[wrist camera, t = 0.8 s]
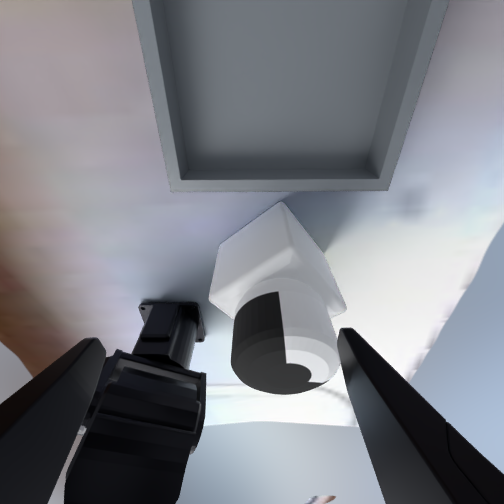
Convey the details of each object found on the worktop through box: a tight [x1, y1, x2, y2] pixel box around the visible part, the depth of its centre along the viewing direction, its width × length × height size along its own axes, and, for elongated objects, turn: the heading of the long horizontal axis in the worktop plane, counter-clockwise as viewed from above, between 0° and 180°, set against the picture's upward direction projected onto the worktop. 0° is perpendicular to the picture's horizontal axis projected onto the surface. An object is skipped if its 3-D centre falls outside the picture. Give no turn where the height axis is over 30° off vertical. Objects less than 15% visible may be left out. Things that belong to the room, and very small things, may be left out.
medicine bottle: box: [209, 201, 347, 395], centre depth 17 cm, size 7×7×12 cm
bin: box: [132, 0, 449, 192], centre depth 13 cm, size 15×15×3 cm
